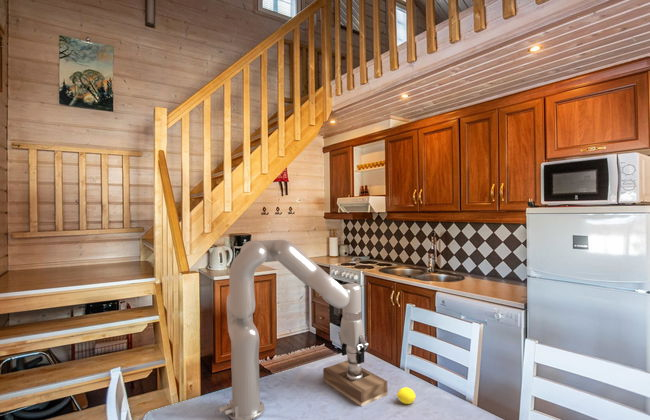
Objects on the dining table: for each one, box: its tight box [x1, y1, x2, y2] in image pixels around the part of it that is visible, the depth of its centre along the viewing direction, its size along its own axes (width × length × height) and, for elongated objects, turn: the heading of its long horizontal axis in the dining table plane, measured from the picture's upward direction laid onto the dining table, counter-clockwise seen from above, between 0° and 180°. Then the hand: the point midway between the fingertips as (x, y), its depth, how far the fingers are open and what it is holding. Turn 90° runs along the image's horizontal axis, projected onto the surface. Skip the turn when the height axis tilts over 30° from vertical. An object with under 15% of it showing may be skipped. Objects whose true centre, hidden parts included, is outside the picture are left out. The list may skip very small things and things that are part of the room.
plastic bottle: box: [346, 344, 363, 382], centre depth 140 cm, size 6×7×20 cm
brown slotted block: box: [322, 359, 389, 407], centre depth 140 cm, size 13×24×5 cm, turn 35°
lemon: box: [396, 386, 417, 405], centre depth 128 cm, size 7×5×5 cm
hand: (352, 358), depth 140 cm, fingers open, 9 cm apart
